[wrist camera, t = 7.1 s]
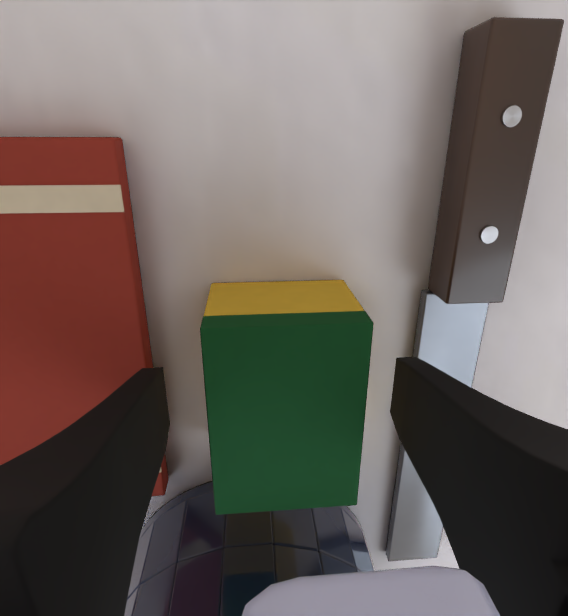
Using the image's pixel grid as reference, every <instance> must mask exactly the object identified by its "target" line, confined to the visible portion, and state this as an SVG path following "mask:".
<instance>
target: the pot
mask: <svg viewBox="0 0 568 616" xmlns="http://www.w3.org/2000/svg"><path fill="white" fill-rule="evenodd" d="M366 571H375V568H374V564H373V561H372V558H371V554H370V551H369V549H368V546H367V543H366V539H365V536H364V533H363V531H362V528H361V525H360V524H359V522H358V520H357V519H356V517H355V515H354V514H353V513H352V512H351V511H350V509H349V508H348V507H347V506H335V507H321V508H307V509H292V510H278V511H264V512H249V513H235V514H221V515H216V513H215V503H214V491H213V481H212V482H209V483H206V484H203V485H200V486H197V487H195V488H193V489H191V490H188V491H186V492H184V493H182V494H181V495H179V496H177V497H176V498H174V499H172V500H171V501H169V502H168V503H167V504H166V505H164V506H163V507H162V508H160V509H159V510H158V511H157V512H156V513H155V514H154V515H153V516H152V517H151V518H150V519H149V521H148V522H147V524H146V525H145V526H144V528H143V529H142V530H141V533H140V537H139V542H138V547H137V552H136V557H135V562H134V567H133V571H132V577H131V582H130V587H129V593H128V598H127V603H126V609H125V614H124V616H242V614H243V611H244V608H245V605H246V604H247V603H248V602H249V601H250V600H252V599H253V598H254V597H255V596H257V595H258V594H259V593H261V592H262V591H263V590H265V589H266V588H267V587H269V586H270V585H271V584H275V583H279V582H282V581H286V580H290V579H294V578H297V577H305V576H317V575H329V574H341V573H353V572H366Z"/></svg>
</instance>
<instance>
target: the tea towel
mask: <svg viewBox="0 0 568 616" xmlns="http://www.w3.org/2000/svg"><path fill="white" fill-rule="evenodd" d="M142 368H153V362H152V355H151V348H150V340H149V333H148V326H147V318H146V311H145V304H144V296H143V289H142V282H141V274H140V267H139V260H138V253H137V245H136V238H135V231H134V223H133V216H132V209H131V201H130V194H129V187H128V179H127V172H126V165H125V157H124V150H123V143H122V139H121V138H119V137H0V465H2V464H4V463H6V462H8V461H10V460H12V459H13V458H15V457H17V456H19V455H21V454H23V453H25V452H27V451H29V450H30V449H32V448H34V447H36V446H38V445H40V444H41V443H43V442H45V441H46V440H48V439H49V438H51V437H53V436H54V435H56V434H58V433H59V432H61V431H62V430H64V429H65V428H67V427H68V426H70V425H71V424H73V423H74V422H75V421H77V420H78V419H79V418H81V417H82V416H83V415H85V414H86V413H87V412H89V411H90V410H91V409H93V408H94V407H95V406H97V405H98V404H99V403H101V402H102V401H103V400H104V399H106V398H107V397H108V396H109V395H110V394H112V393H113V392H114V391H115V390H116V389H118V388H119V387H120V386H121V385H122V384H124V383H125V382H126V381H127V380H128V379H129V378H131V377H132V376H133V375H134V374H135V373H136V372H138V371H139V370H140V369H142ZM167 483H168V472H167V465H166V457H165V454H164V458H163V461H162V464H161V468H160V471H159V474H158V477H157V481H156V484H155V487H154V490H153V493H152V496H159V495H165V492H166V488H167Z"/></svg>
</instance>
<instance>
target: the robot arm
mask: <svg viewBox="0 0 568 616" xmlns="http://www.w3.org/2000/svg"><path fill="white" fill-rule="evenodd" d="M390 413H391V416H392V419H393V422H394V425H395V428H396V431H397V433H398V436H399V439H400V441H401V443H402V445H403V447H404V449H405V451H406V453H407V455H408V457H409V459H410V461H411V462H412V464H413V466H414V468H415V470H416V472H417V474H418V476H419V478H420V479H421V481H422V483H423V485H424V487H425V489H426V491H427V493H428V495H429V496H430V498H431V500H432V502H433V504H434V506H435V509H436V511H437V513H438V515H439V517H440V520H441V522H442V525H443V527H444V530H445V532H446V535H447V537H448V540H449V542H450V545H451V547H452V550H453V552H454V555H455V558H456V560H457V563H458V566H459V568H460V569H456V568H448V567H439V566H426V567H414V568H402V569H390V570H378V571H366V572H353V573H341V574H329V575H317V576H305V577H297V578H294V579H290V580H286V581H282V582H279V583H275V584H271V585H270V586H269V587H267V588H266V589H265V590H263V591H262V592H261V593H259V594H258V595H257V596H255V597H254V598H253V599H252V600H250V601H249V602H248V603H247V604H246V605H245V608H244V611H243V614H242V616H568V429H565V428H562V427H559V426H556V425H553V424H550V423H547V422H545V421H542V420H540V419H537V418H534V417H532V416H530V415H527V414H525V413H523V412H520V411H518V410H515V409H513V408H511V407H509V406H506V405H504V404H502V403H500V402H498V401H496V400H494V399H492V398H490V397H488V396H486V395H484V394H482V393H480V392H478V391H477V390H475V389H473V388H471V387H469V386H467V385H466V384H464V383H462V382H460V381H458V380H457V379H455V378H453V377H451V376H450V375H448V374H446V373H445V372H443V371H441V370H439V369H438V368H436V367H434V366H432V365H431V364H429V363H427V362H425V361H423V360H421V359H419V358H417V357H404V358H397V359H396V367H395V375H394V384H393V392H392V401H391V409H390ZM169 426H170V421H169V413H168V405H167V397H166V389H165V381H164V374H163V367H160V368H142V369H140V370H139V371H138V372H136V373H135V374H134V375H133V376H132V377H131V378H129V379H128V380H127V381H126V382H125V383H124V384H122V385H121V386H120V387H119V388H118V389H116V390H115V391H114V392H113V393H112V394H110V395H109V396H108V397H107V398H106V399H104V400H103V401H102V402H101V403H99V404H98V405H97V406H95V407H94V408H93V409H91V410H90V411H89V412H87V413H86V414H85V415H83V416H82V417H81V418H79V419H78V420H77V421H75V422H74V423H73V424H71V425H70V426H68V427H67V428H65V429H64V430H62V431H61V432H59V433H58V434H56V435H54V436H53V437H51V438H49V439H48V440H46V441H45V442H43V443H41V444H40V445H38V446H36V447H34V448H32V449H30V450H29V451H27V452H25V453H23V454H21V455H19V456H17V457H15V458H13V459H12V460H10V461H8V462H6V463H4V464H2V465H0V616H124V614H125V609H126V603H127V598H128V593H129V587H130V582H131V577H132V571H133V567H134V562H135V557H136V552H137V547H138V542H139V537H140V533H141V530H142V526H143V522H144V519H145V516H146V512H147V509H148V506H149V503H150V500H151V497H152V493H153V490H154V487H155V484H156V481H157V477H158V474H159V471H160V468H161V464H162V461H163V458H164V454H165V450H166V444H167V438H168V432H169Z"/></svg>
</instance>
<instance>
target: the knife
mask: <svg viewBox="0 0 568 616" xmlns="http://www.w3.org/2000/svg"><path fill="white" fill-rule="evenodd" d="M563 24H564V20H562V19H543V18H504V17H494V18H491V19H489V20H487V21H485V22H483V23H481V24H479V25H477V26H475V27H473V28H471V29H469V30H467V31H465V33H464V39H463V46H462V53H461V60H460V67H459V74H458V81H457V88H456V95H455V102H454V109H453V116H452V123H451V131H450V138H449V145H448V152H447V159H446V166H445V173H444V180H443V187H442V194H441V201H440V208H439V215H438V222H437V229H436V236H435V243H434V250H433V257H432V264H431V272H430V279H429V286H428V289H429V290H422V292H421V299H420V306H419V314H418V321H417V328H416V336H415V343H414V350H413V357H417V358H419V359H421V360H423V361H425V362H427V363H429V364H431V365H432V366H434V367H436V368H438V369H439V370H441V371H443V372H445V373H446V374H448V375H450V376H451V377H453V378H455V379H457V380H458V381H460V382H462V383H464V384H466V385H467V386H469V387H471V388H472V383H473V378H474V374H475V369H476V364H477V359H478V354H479V349H480V344H481V339H482V334H483V329H484V325H485V320H486V315H487V310H488V305H489V303H496V302H503V299H504V295H505V290H506V286H507V281H508V276H509V272H510V267H511V263H512V258H513V253H514V249H515V244H516V240H517V235H518V230H519V226H520V221H521V217H522V212H523V207H524V203H525V198H526V194H527V189H528V184H529V180H530V175H531V171H532V166H533V161H534V157H535V152H536V148H537V143H538V139H539V134H540V129H541V125H542V120H543V116H544V111H545V106H546V102H547V97H548V93H549V88H550V83H551V79H552V74H553V70H554V65H555V60H556V56H557V51H558V47H559V42H560V37H561V33H562V28H563ZM442 530H443V525H442V522H441V520H440V517H439V515H438V513H437V511H436V509H435V506H434V504H433V502H432V500H431V498H430V496H429V495H428V493H427V491H426V489H425V487H424V485H423V483H422V481H421V479H420V478H419V476H418V474H417V472H416V470H415V468H414V466H413V464H412V462H411V461H410V459H409V457H408V455H407V453H406V451H405V449H404V447H403V445H402V443H401V446H400V453H399V461H398V468H397V476H396V483H395V490H394V498H393V505H392V512H391V520H390V527H389V534H388V542H387V549H386V555H387V558H388V561H399V560H411V559H424V558H436V557H437V555H438V550H439V545H440V540H441V535H442Z"/></svg>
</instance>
